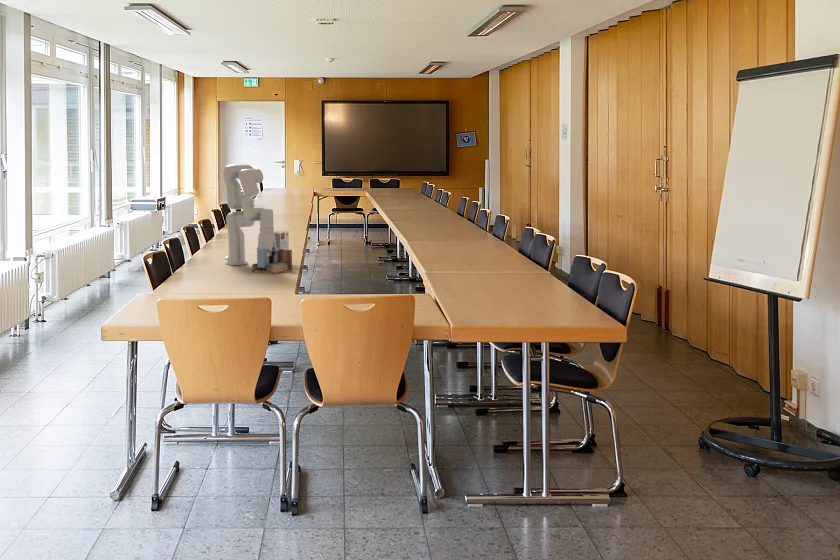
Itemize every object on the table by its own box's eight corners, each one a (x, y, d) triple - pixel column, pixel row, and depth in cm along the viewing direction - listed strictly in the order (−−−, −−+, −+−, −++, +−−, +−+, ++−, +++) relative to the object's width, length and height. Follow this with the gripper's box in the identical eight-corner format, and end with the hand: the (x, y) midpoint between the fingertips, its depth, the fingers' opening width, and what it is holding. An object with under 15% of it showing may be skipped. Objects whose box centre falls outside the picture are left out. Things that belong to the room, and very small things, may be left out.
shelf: (252, 271, 500) (251, 251, 498) (270, 268, 513) (270, 248, 511) (274, 274, 492) (274, 253, 490) (292, 270, 506) (291, 249, 504)
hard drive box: (280, 267, 520) (279, 233, 516) (268, 266, 521) (267, 233, 518) (289, 263, 535) (288, 230, 531) (277, 262, 536) (276, 230, 533)
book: (257, 267, 499) (256, 249, 498) (270, 264, 509) (270, 247, 508) (264, 267, 497) (263, 250, 495) (277, 265, 507) (277, 248, 505)
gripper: (251, 230, 501) (251, 261, 504) (274, 232, 492) (275, 264, 495) (259, 229, 507) (260, 260, 510) (282, 230, 499) (283, 262, 502)
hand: (267, 261), depth 503 cm, fingers closed on book, 5 cm apart
